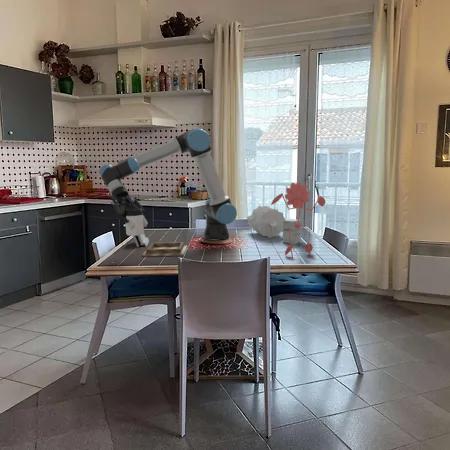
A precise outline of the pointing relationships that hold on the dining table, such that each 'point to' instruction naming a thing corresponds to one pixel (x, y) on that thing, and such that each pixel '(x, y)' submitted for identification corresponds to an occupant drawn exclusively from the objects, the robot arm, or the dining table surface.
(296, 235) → the supplement box
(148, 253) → the jar stand
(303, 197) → the figurine
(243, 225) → the dining table surface
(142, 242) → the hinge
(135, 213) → the jar
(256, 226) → the grey rounded scaly piece
